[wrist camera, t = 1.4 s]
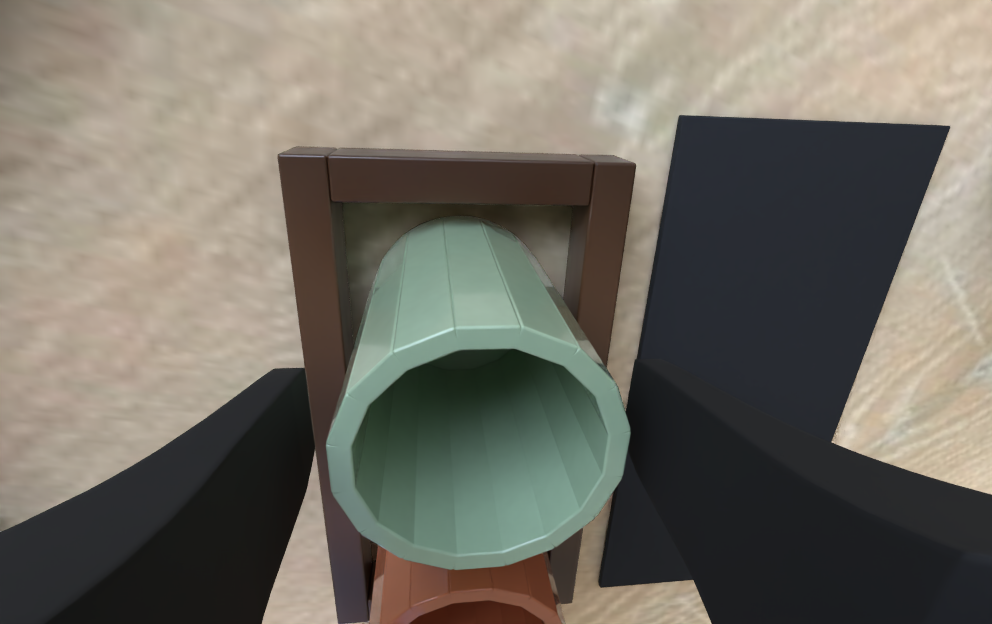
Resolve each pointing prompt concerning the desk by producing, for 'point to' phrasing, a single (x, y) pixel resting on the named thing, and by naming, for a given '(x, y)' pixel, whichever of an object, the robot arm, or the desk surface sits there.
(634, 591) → the desk surface
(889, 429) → the desk surface
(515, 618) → the terracotta cup
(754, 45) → the desk surface
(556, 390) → the cup
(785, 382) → the desk mat
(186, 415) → the desk surface
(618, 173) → the holder
